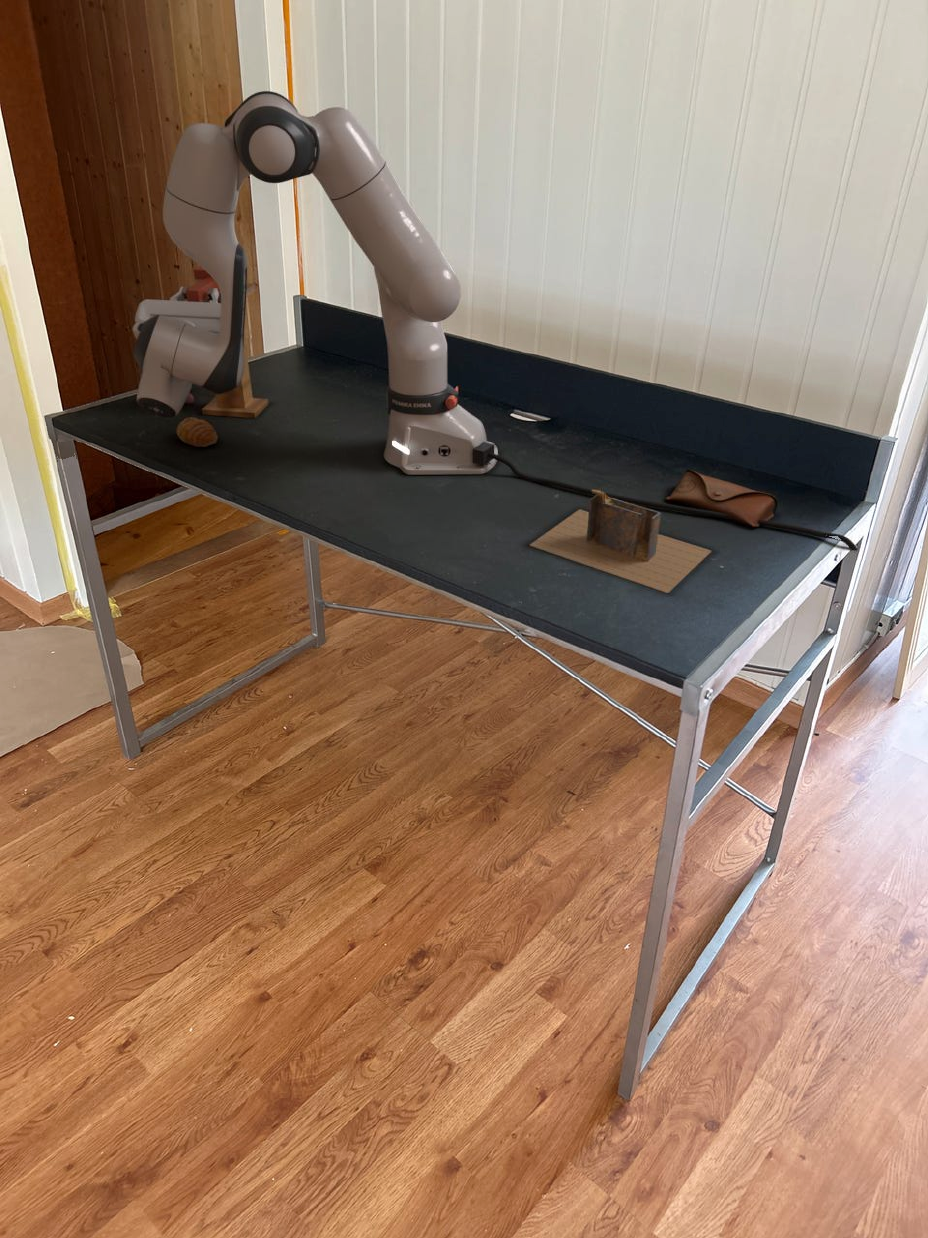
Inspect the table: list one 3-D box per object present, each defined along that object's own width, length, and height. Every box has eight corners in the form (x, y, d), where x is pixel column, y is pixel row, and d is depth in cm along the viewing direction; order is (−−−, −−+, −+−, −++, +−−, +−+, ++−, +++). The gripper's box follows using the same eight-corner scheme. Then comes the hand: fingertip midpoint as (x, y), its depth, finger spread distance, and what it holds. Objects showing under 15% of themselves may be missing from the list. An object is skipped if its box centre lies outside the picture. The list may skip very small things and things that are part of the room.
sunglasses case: (662, 498, 165) (675, 462, 164) (675, 504, 171) (688, 470, 170) (757, 528, 156) (772, 491, 155) (767, 534, 162) (781, 498, 161)
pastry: (227, 442, 187) (224, 424, 184) (198, 452, 183) (194, 434, 180) (202, 430, 192) (199, 412, 190) (173, 439, 188) (170, 421, 186)
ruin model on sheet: (529, 545, 151) (531, 491, 146) (579, 509, 163) (583, 457, 157) (667, 593, 139) (676, 536, 134) (712, 550, 150) (721, 496, 145)
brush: (244, 283, 190) (242, 264, 188) (213, 304, 177) (210, 284, 175) (207, 281, 191) (205, 262, 189) (174, 302, 178) (170, 282, 176)
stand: (268, 404, 205) (254, 283, 191) (255, 418, 198) (239, 293, 183) (217, 400, 207) (199, 280, 192) (202, 414, 199) (182, 291, 185)
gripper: (227, 334, 169) (246, 279, 175) (123, 328, 172) (145, 274, 178) (237, 358, 175) (255, 304, 181) (137, 352, 178) (157, 299, 184)
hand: (200, 289), depth 179 cm, fingers open, 4 cm apart
